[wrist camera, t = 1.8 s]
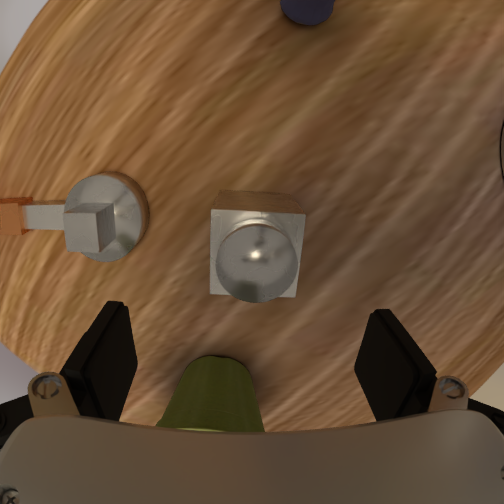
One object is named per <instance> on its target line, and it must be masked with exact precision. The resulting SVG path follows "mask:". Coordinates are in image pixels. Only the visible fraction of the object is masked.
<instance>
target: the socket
mask: <svg viewBox="0 0 504 504" xmlns="http://www.w3.org/2000/svg"><path fill="white" fill-rule="evenodd" d="M305 218H306V214H305V213H304V211H303V210H302V209H301V208H300V206H299V205H298V204H297V203H296V201H295V200H294V199H293V197H292V196H291V195H290V194H280V193H265V192H248V191H227V190H220V191H219V193H218V195H217V197H216V199H215V202H214V204H213V206H212V208H211V236H210V294H222V295H232V296H234V297H235V298H237V299H240V300H242V301H246V302H253V303H260V302H266V301H270V300H272V299H275V298H277V297H295V296H296V289H297V282H298V275H299V267H300V259H301V252H302V244H303V235H304V227H305Z"/></svg>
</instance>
